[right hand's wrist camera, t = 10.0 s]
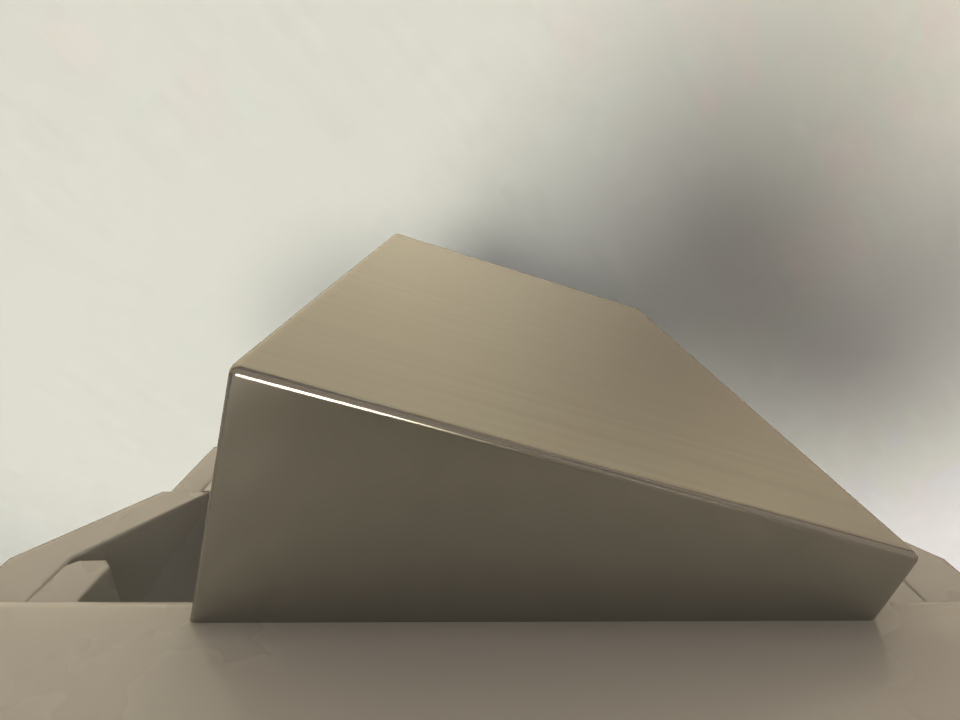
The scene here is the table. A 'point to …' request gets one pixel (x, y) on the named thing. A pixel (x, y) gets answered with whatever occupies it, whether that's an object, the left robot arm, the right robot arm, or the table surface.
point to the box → (512, 469)
